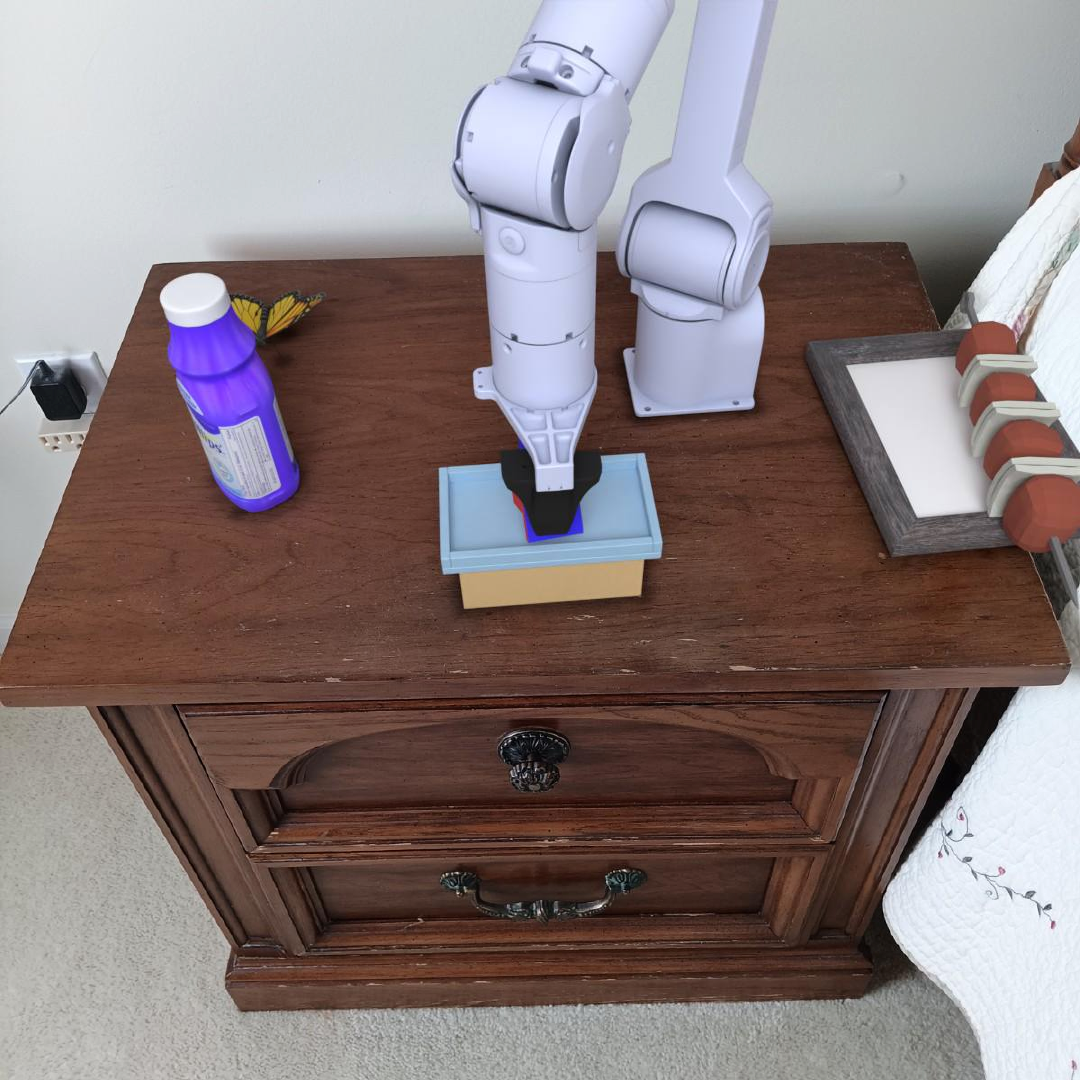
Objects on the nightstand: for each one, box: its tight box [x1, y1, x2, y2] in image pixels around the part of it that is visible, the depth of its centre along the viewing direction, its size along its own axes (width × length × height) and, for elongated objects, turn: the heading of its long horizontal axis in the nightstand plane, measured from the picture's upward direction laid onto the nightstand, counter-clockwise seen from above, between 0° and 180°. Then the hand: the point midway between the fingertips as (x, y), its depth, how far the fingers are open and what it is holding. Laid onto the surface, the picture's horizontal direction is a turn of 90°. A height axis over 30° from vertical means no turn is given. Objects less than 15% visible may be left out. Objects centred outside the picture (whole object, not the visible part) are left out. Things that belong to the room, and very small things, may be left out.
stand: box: [438, 452, 663, 610], centre depth 68 cm, size 14×8×6 cm, turn 94°
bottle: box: [159, 272, 301, 513], centre depth 69 cm, size 7×6×17 cm
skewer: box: [955, 291, 1080, 610], centre depth 71 cm, size 5×5×30 cm
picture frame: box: [804, 327, 1080, 558], centre depth 76 cm, size 16×2×21 cm
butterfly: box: [228, 289, 327, 375], centre depth 84 cm, size 12×9×5 cm
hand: (546, 484), depth 64 cm, fingers open, 7 cm apart
